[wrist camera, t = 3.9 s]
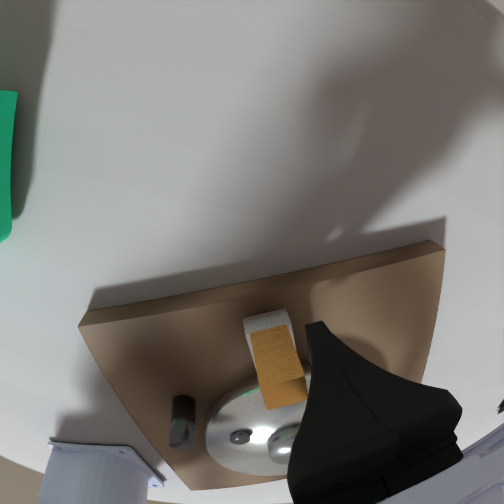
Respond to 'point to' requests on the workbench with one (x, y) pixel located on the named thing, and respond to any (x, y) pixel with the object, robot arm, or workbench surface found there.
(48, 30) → the workbench surface
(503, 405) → the computer memory module
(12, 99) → the camera mount
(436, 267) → the fixture board
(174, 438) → the dowel pin
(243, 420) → the flange plate
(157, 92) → the workbench surface
